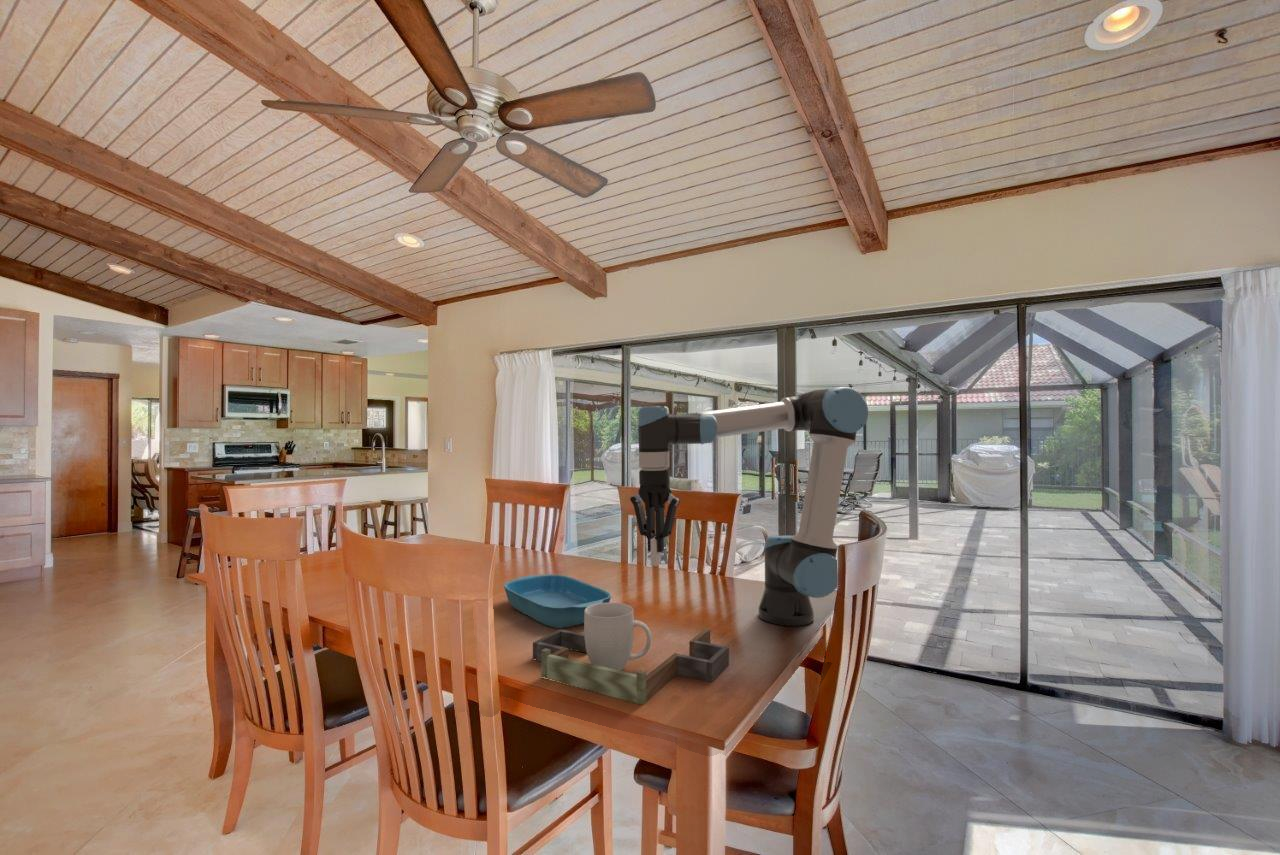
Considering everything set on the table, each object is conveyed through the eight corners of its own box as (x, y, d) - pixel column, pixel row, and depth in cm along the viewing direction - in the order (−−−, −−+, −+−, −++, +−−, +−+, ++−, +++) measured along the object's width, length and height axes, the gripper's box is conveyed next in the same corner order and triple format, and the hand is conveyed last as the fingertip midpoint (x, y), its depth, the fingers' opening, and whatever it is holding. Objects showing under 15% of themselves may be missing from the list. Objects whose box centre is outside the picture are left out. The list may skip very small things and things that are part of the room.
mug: (651, 658, 135) (651, 602, 135) (651, 679, 124) (651, 617, 124) (586, 658, 135) (586, 601, 135) (581, 678, 124) (581, 617, 124)
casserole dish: (625, 620, 162) (625, 595, 162) (556, 639, 148) (556, 611, 148) (555, 591, 191) (555, 570, 191) (492, 605, 176) (492, 581, 176)
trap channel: (741, 651, 139) (741, 626, 139) (680, 714, 109) (680, 682, 109) (599, 623, 159) (599, 601, 159) (512, 671, 128) (512, 643, 128)
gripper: (684, 468, 143) (686, 564, 144) (638, 467, 150) (640, 559, 150) (671, 470, 137) (673, 571, 137) (623, 469, 143) (625, 565, 143)
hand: (656, 564), depth 143 cm, fingers closed
